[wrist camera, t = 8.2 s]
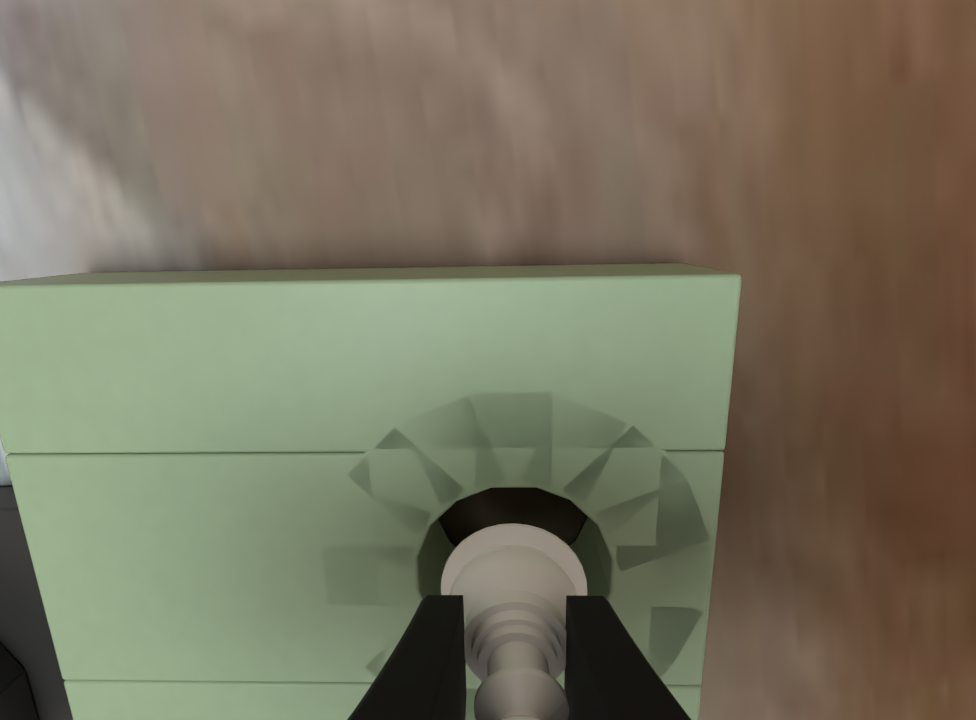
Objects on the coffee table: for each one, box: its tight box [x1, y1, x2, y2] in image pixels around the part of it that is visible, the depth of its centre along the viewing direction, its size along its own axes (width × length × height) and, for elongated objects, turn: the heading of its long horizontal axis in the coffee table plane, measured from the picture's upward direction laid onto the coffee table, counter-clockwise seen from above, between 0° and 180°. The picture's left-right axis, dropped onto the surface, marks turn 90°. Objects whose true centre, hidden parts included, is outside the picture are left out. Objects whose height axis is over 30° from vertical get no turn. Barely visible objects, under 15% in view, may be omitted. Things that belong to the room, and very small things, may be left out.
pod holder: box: [0, 263, 742, 720], centre depth 12 cm, size 12×14×3 cm
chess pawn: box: [441, 523, 587, 720], centre depth 8 cm, size 3×3×5 cm
